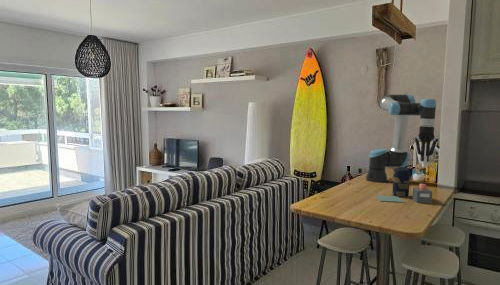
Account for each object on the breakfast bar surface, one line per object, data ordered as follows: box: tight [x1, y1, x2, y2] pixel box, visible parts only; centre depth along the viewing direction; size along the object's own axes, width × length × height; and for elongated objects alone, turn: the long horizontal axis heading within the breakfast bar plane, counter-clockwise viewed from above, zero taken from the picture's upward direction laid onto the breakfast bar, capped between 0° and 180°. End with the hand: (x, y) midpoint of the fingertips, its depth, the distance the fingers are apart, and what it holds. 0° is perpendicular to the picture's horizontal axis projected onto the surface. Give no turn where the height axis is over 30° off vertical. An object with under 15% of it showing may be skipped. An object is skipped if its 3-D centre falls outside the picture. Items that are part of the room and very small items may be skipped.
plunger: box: [418, 183, 427, 190], centre depth 198 cm, size 4×4×7 cm
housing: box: [411, 187, 433, 204], centre depth 198 cm, size 8×8×7 cm
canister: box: [391, 167, 411, 198], centre depth 210 cm, size 10×10×18 cm
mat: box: [375, 194, 405, 203], centre depth 201 cm, size 12×13×1 cm
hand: (424, 166), depth 197 cm, fingers closed
